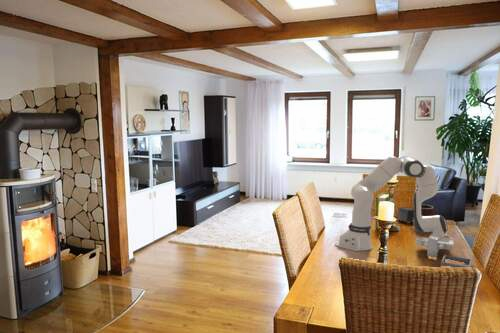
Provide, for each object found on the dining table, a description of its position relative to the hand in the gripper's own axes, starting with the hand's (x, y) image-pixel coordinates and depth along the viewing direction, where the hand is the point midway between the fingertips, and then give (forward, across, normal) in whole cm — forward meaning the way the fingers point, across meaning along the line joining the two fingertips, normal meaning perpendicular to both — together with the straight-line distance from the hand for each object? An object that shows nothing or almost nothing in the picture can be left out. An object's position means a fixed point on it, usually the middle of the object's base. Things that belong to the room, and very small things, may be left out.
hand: (432, 246), depth 223 cm
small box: (-79, -31, +7) cm, 85 cm away
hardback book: (-54, -41, +7) cm, 68 cm away
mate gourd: (-61, -16, +7) cm, 63 cm away
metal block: (-1, 0, +7) cm, 7 cm away
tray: (+6, +13, +7) cm, 16 cm away
